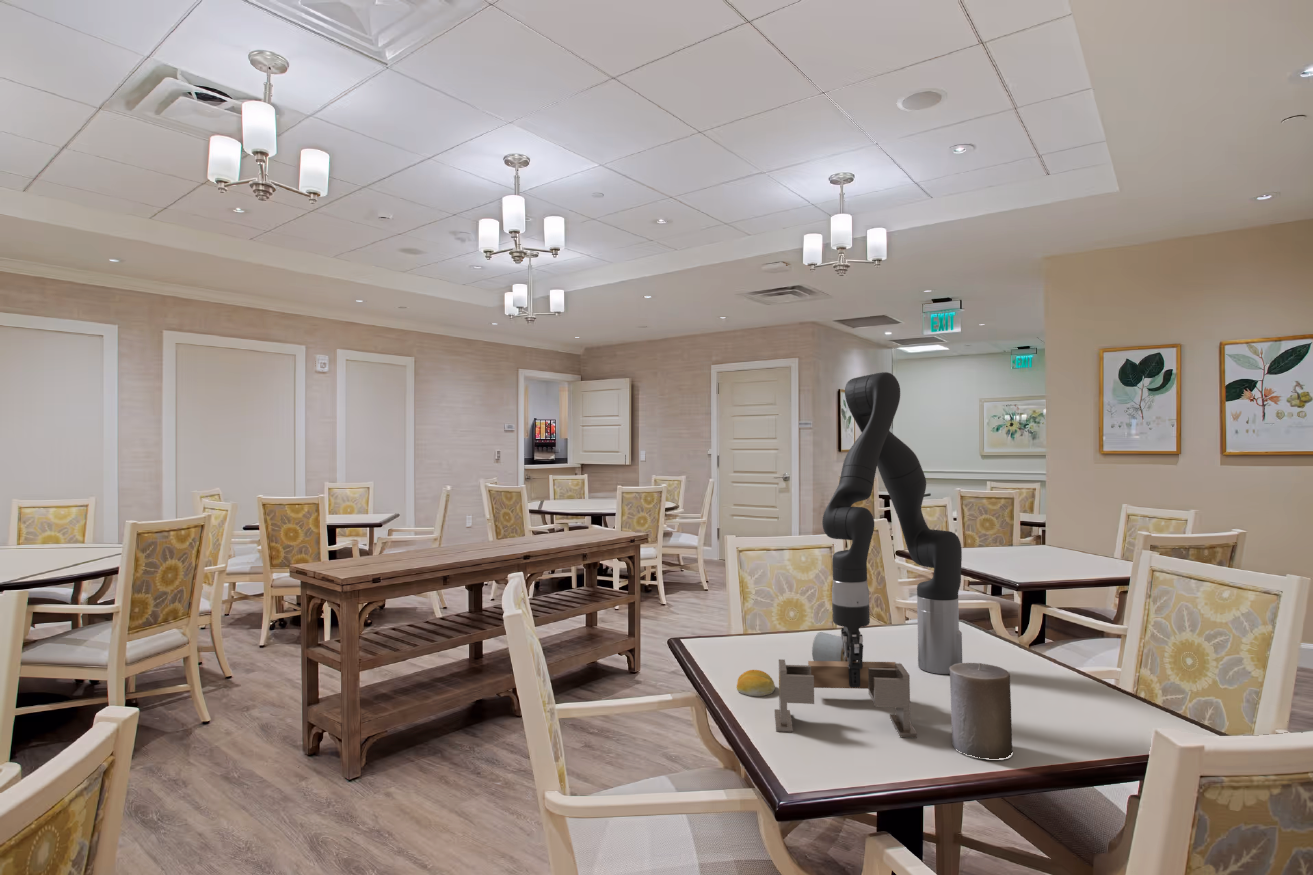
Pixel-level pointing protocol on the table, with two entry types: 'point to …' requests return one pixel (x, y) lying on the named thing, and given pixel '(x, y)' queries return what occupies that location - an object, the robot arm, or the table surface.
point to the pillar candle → (981, 710)
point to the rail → (841, 673)
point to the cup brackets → (883, 689)
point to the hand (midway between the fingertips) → (853, 682)
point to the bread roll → (755, 683)
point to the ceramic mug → (827, 647)
